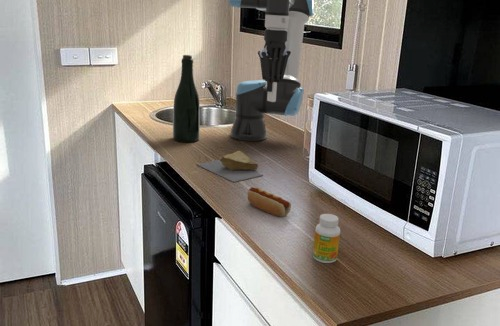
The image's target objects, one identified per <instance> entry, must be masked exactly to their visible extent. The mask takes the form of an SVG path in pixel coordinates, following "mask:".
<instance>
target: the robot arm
mask: <svg viewBox="0 0 500 326" xmlns="http://www.w3.org/2000/svg"><path fill="white" fill-rule="evenodd" d="M228 4H229V5H230V6H231V7H234V8H242V9H244V8H245V9H246V8H248V9H255V10H258V11H262V12H265V16H264V17H265V19H264V27H265V28H266V29H265V30H264V34H263V40H264V41H265V43H264V46H263V49H262V50H258V52H257V55H258V57H259V60H260V69H261V77H262V78H261V79H257V80H256V79H252V80H245V81H241V82H239V83H238V84H237V86H236V93H235V96H236V97H235V98H236V99H235V116H234V121H233V123H232V127H231V129H230V137H231V138H233V139H235V140H239V141H245V142H257V141H259V142H260V141H264V140H266V139H267V137H268V133H267V128H266V123H265V120H264V116H265V114H269V115H275V116H276V115H277V116H284V117H287V116H288V117H290V116H291V117H294V116H297V115H298V113H299V112H300V110H301V106H302V102H303V97H304V87H302V86H301V85H302V84H301V81H300V80H299V79H298V78H299V71H300V63H301V55H302V47H303V40H304V39H303V38H304V31H305V24H306V23H307V22H309V20H310V17H312V16H314V0H228Z"/></svg>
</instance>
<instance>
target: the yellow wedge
mask: <svg viewBox="0 0 500 326" xmlns="http://www.w3.org/2000/svg"><path fill="white" fill-rule="evenodd" d="M219 160H220V161H221V162H222V164H223V165H224V166H225V167H227V168H228V169H230V170H232V171H233V170H241V169H244V170H253V171H256V170H258V167H259V164H258V163H257V162H256V161H254V160H253V158H250V157H249V156H248V155H247V154H246V153H244V152H242V150H237V151H235V152H233V153H228V154H226V155H224V156H222V157H221V158H220V159H219Z"/></svg>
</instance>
